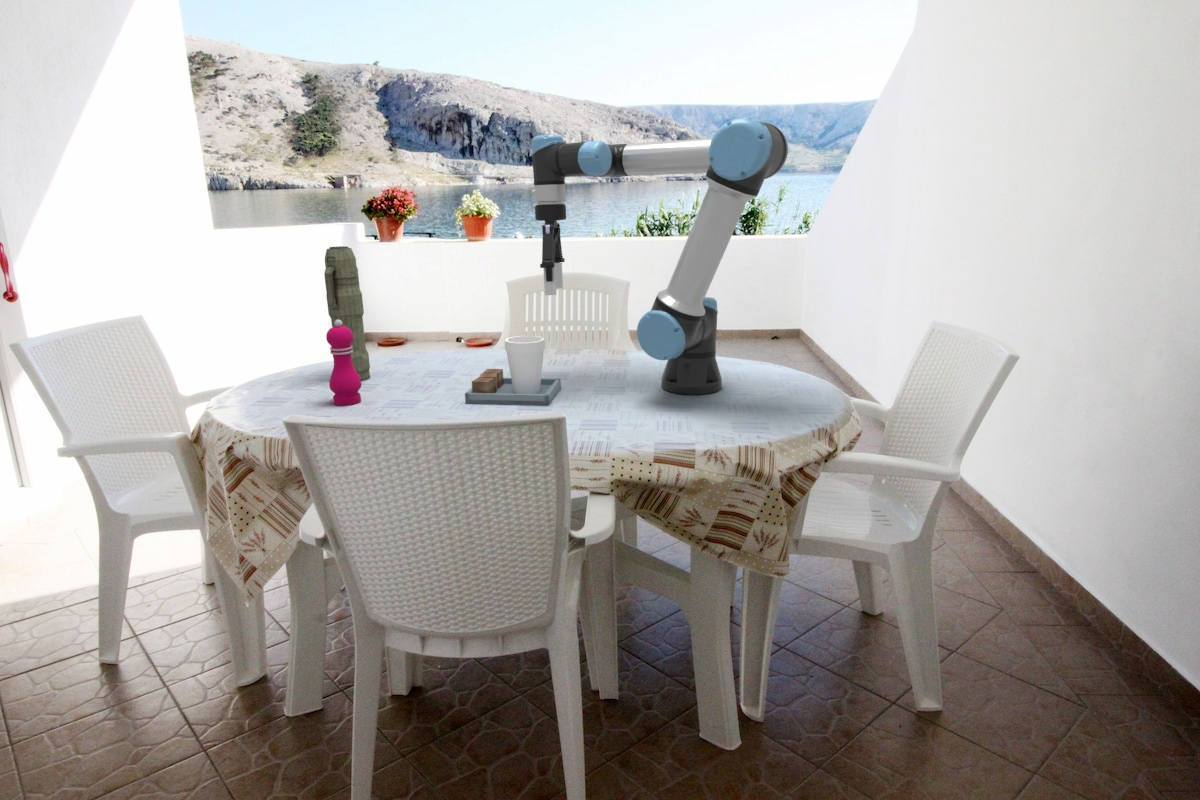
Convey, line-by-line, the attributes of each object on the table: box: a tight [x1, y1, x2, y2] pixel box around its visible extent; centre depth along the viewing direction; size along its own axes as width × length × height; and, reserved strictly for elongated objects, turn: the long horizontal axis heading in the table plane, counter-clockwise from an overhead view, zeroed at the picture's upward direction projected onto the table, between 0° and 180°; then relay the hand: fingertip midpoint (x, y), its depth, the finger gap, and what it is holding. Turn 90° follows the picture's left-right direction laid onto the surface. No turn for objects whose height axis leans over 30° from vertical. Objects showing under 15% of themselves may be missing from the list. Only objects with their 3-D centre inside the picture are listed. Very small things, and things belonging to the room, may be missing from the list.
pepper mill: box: [325, 320, 362, 407], centre depth 168 cm, size 7×7×20 cm
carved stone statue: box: [323, 245, 371, 382], centre depth 188 cm, size 9×12×35 cm
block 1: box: [471, 376, 495, 393], centre depth 171 cm, size 4×4×4 cm
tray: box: [464, 377, 562, 406], centre depth 175 cm, size 20×16×2 cm
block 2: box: [478, 372, 498, 393], centre depth 175 cm, size 4×4×4 cm
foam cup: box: [504, 335, 546, 394], centre depth 173 cm, size 10×9×13 cm
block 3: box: [482, 368, 504, 388], centre depth 179 cm, size 4×4×4 cm
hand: (554, 291), depth 178 cm, fingers open, 13 cm apart
